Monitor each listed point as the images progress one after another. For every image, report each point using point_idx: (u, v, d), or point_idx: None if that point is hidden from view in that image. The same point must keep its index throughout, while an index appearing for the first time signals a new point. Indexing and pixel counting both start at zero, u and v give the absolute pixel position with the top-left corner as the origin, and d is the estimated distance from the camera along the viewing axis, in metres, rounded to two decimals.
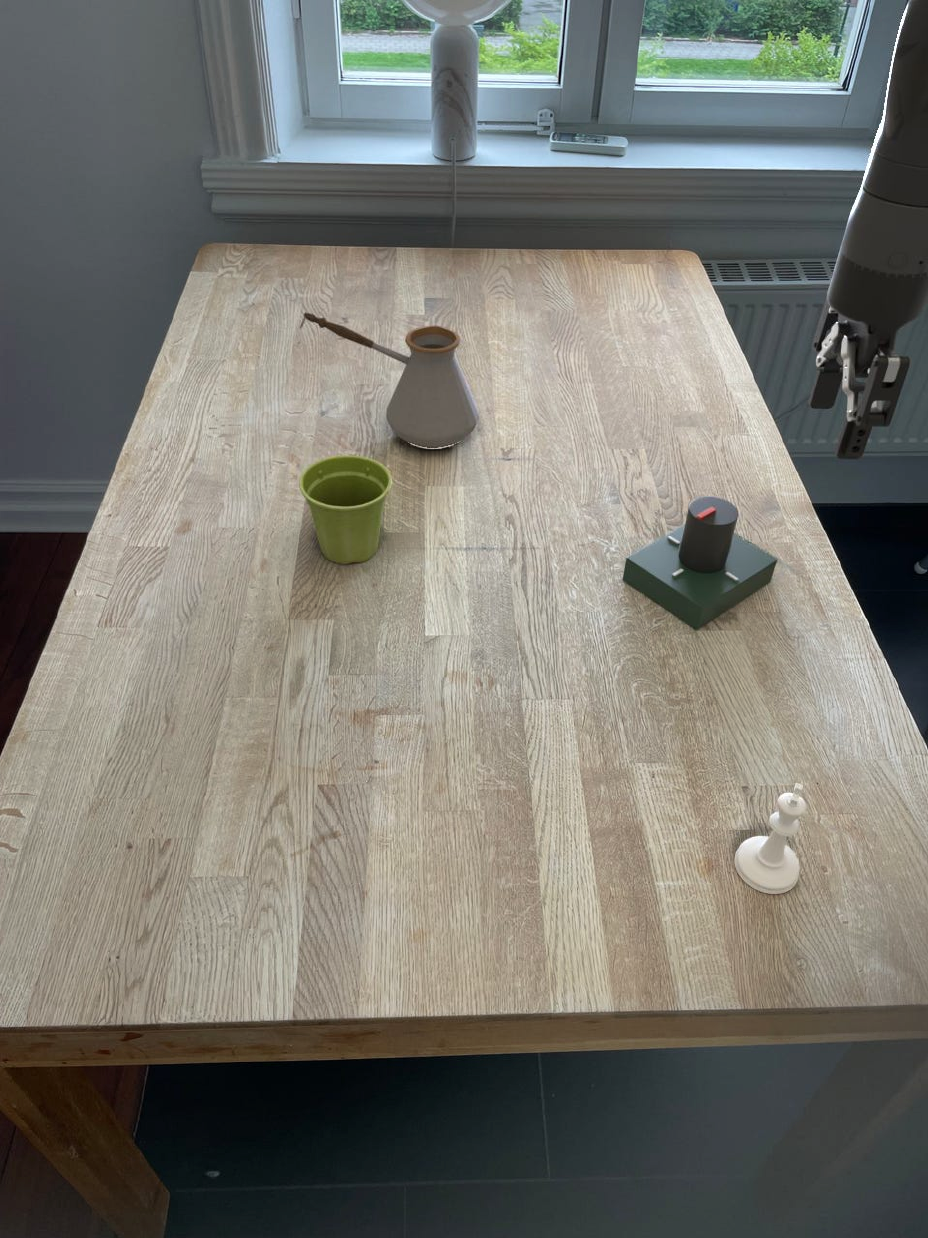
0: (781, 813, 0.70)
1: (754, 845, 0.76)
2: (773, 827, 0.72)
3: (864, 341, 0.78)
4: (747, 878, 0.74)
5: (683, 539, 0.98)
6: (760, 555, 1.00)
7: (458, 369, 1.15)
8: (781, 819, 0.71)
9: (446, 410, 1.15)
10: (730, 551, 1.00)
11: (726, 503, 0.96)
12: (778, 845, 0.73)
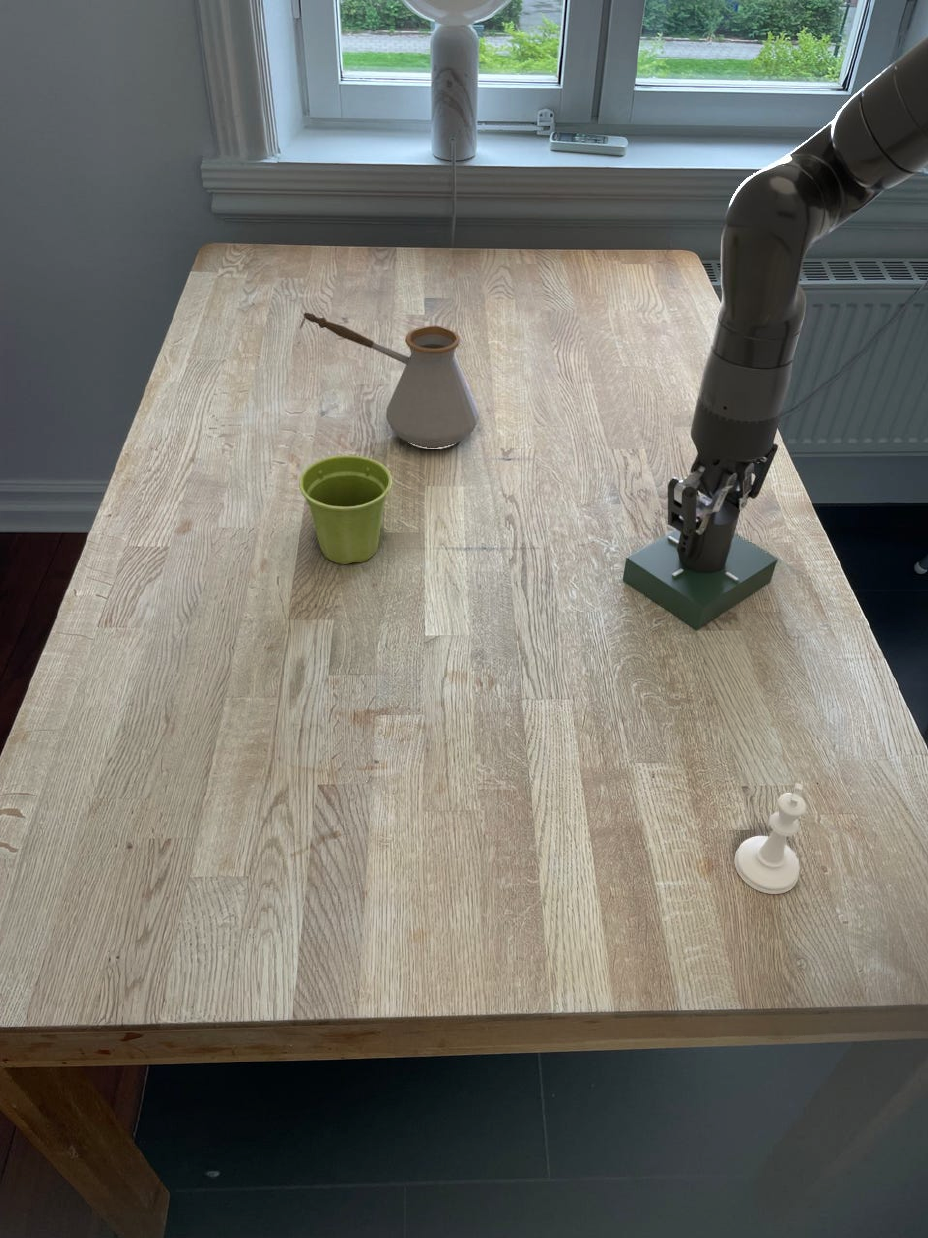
0: (781, 813, 0.70)
1: (754, 845, 0.76)
2: (773, 827, 0.72)
3: None
4: (747, 878, 0.74)
5: None
6: (760, 555, 1.00)
7: (458, 369, 1.15)
8: (781, 819, 0.71)
9: (446, 410, 1.15)
10: (730, 551, 1.00)
11: (726, 503, 0.96)
12: (778, 845, 0.73)
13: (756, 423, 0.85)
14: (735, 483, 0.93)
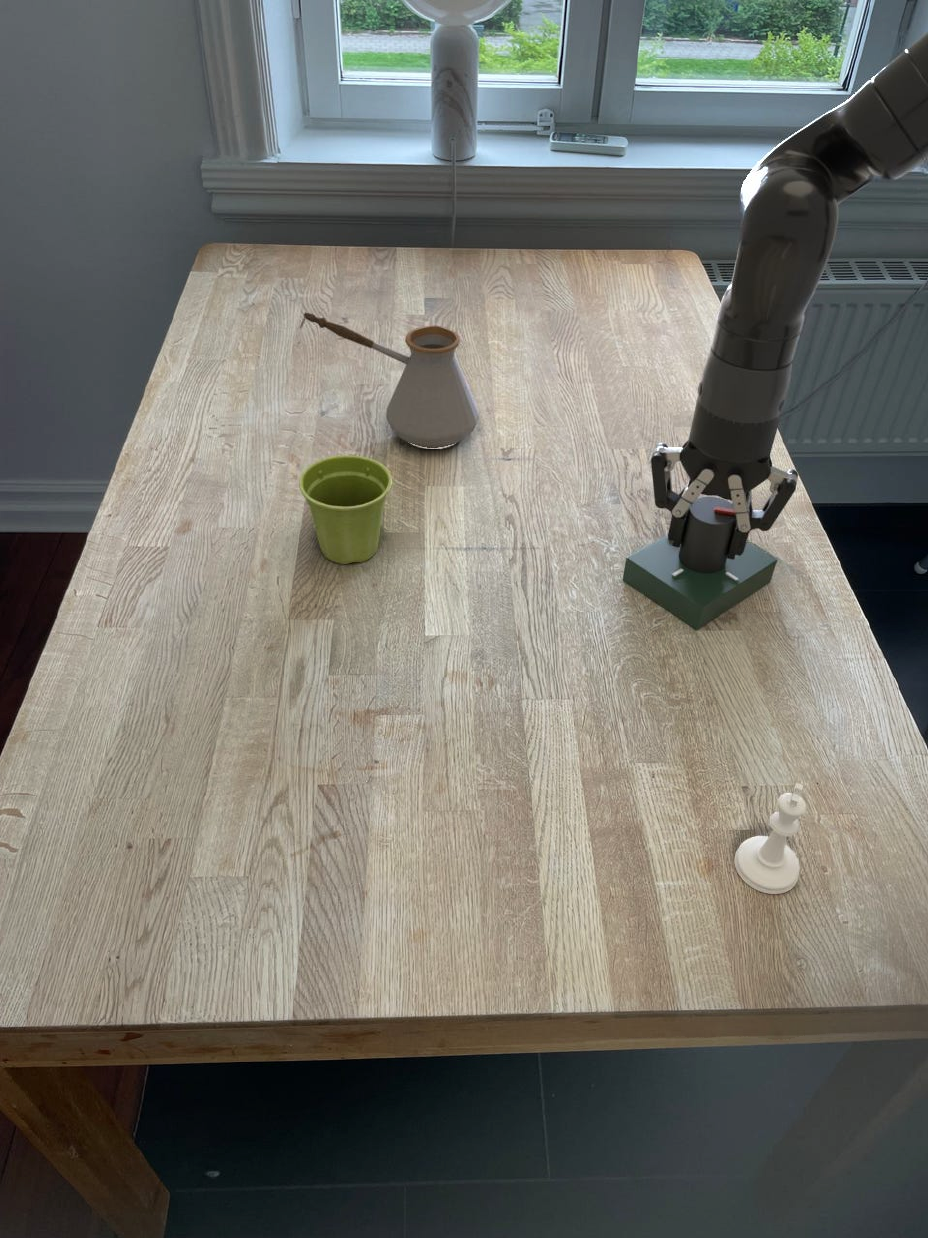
0: (781, 813, 0.70)
1: (754, 845, 0.76)
2: (773, 827, 0.72)
3: (756, 469, 0.89)
4: (747, 878, 0.74)
5: (725, 550, 0.96)
6: (760, 555, 1.00)
7: (458, 369, 1.15)
8: (781, 819, 0.71)
9: (446, 410, 1.15)
10: None
11: (693, 506, 0.96)
12: (778, 845, 0.73)
13: None
14: None
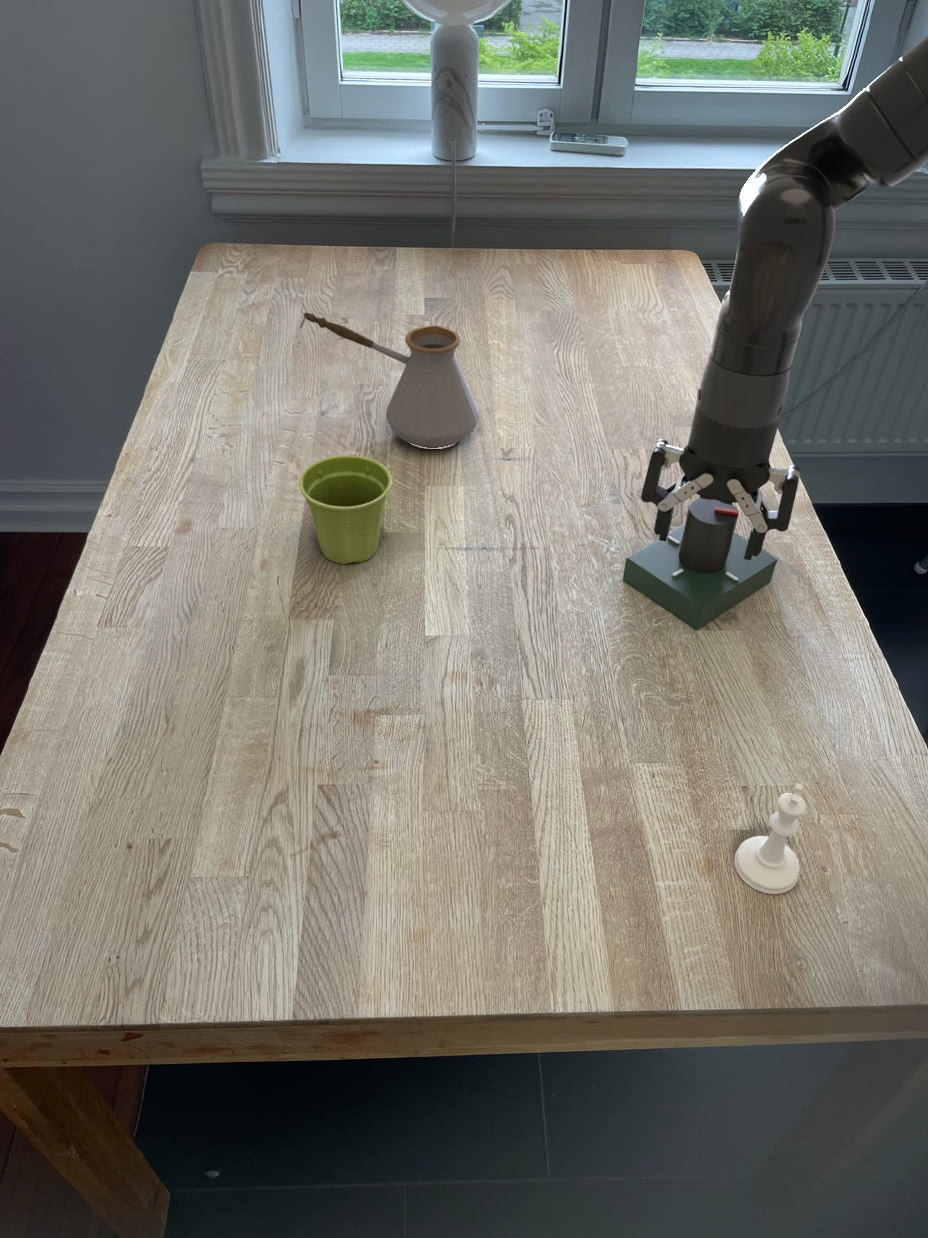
0: (781, 813, 0.70)
1: (754, 845, 0.76)
2: (773, 827, 0.72)
3: (755, 474, 0.90)
4: (747, 878, 0.74)
5: (725, 550, 0.96)
6: (760, 555, 1.00)
7: (458, 369, 1.15)
8: (781, 819, 0.71)
9: (446, 410, 1.15)
10: (730, 551, 1.00)
11: (693, 507, 0.96)
12: (778, 845, 0.73)
13: None
14: None
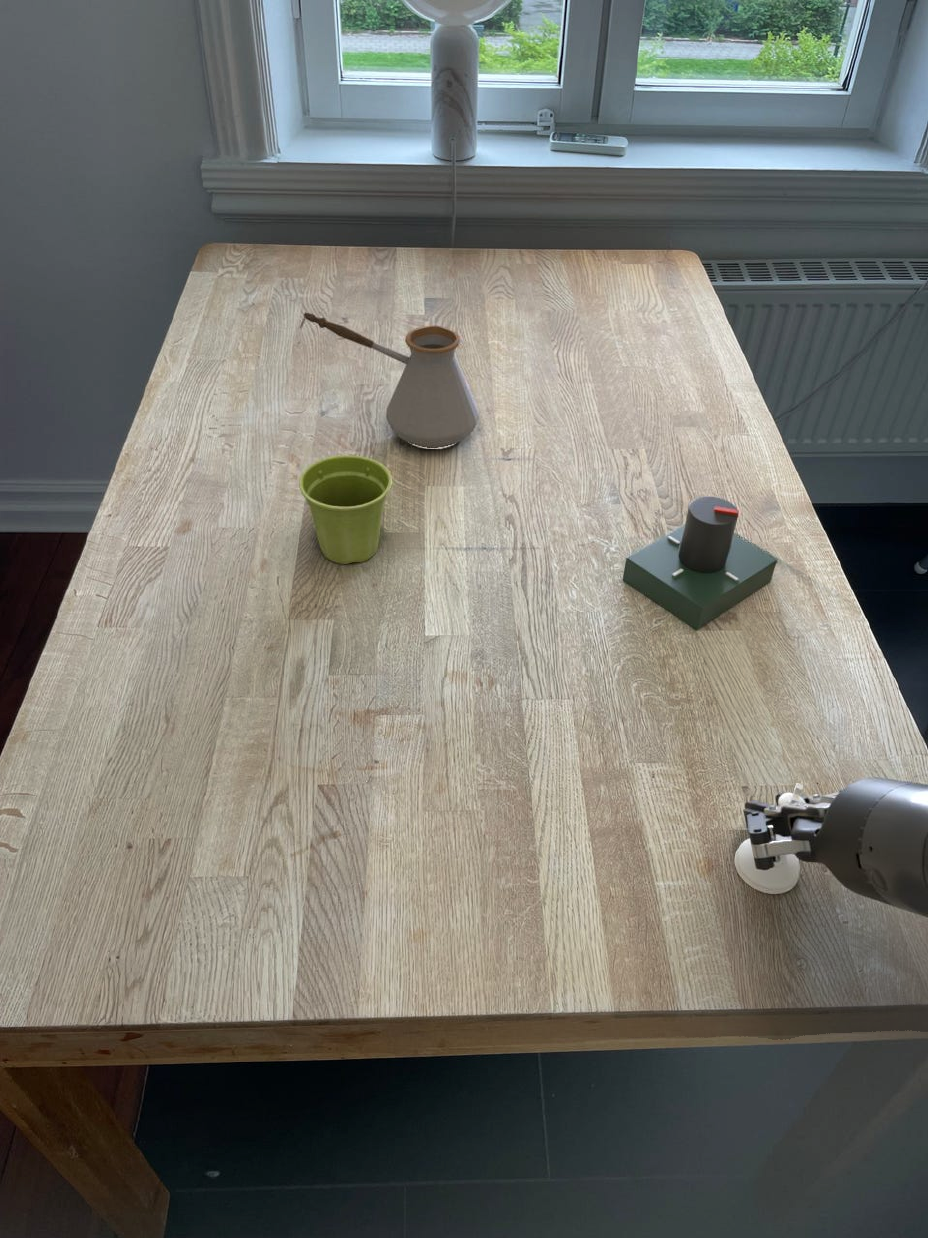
0: None
1: None
2: None
3: None
4: (747, 878, 0.74)
5: (725, 550, 0.96)
6: (760, 555, 1.00)
7: (458, 369, 1.15)
8: None
9: (446, 410, 1.15)
10: (730, 551, 1.00)
11: (693, 507, 0.96)
12: None
13: None
14: None
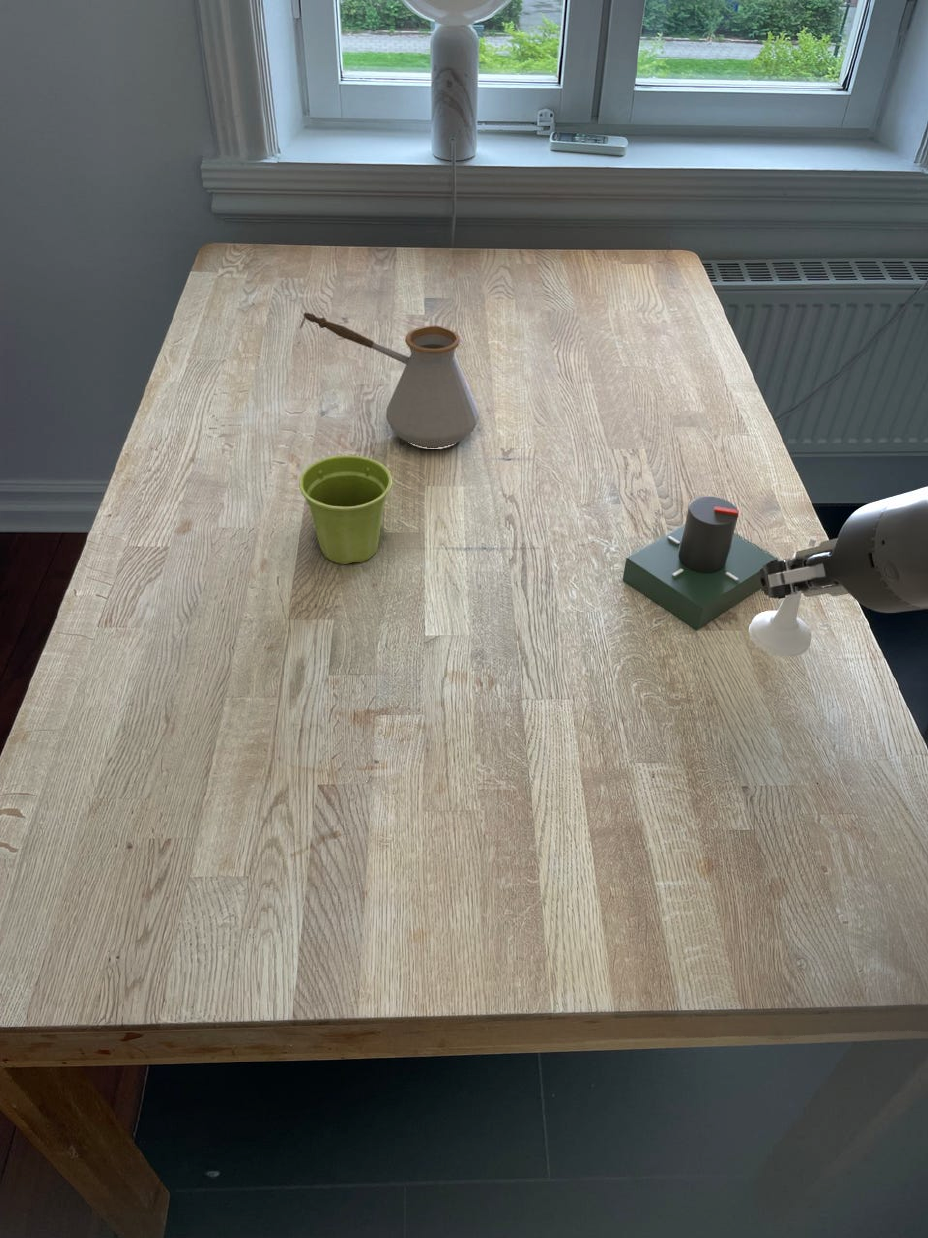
0: None
1: (768, 616, 0.79)
2: None
3: None
4: (761, 643, 0.77)
5: (725, 550, 0.96)
6: (760, 555, 1.00)
7: (458, 369, 1.15)
8: None
9: (446, 410, 1.15)
10: (730, 551, 1.00)
11: (693, 507, 0.96)
12: (792, 606, 0.76)
13: None
14: None
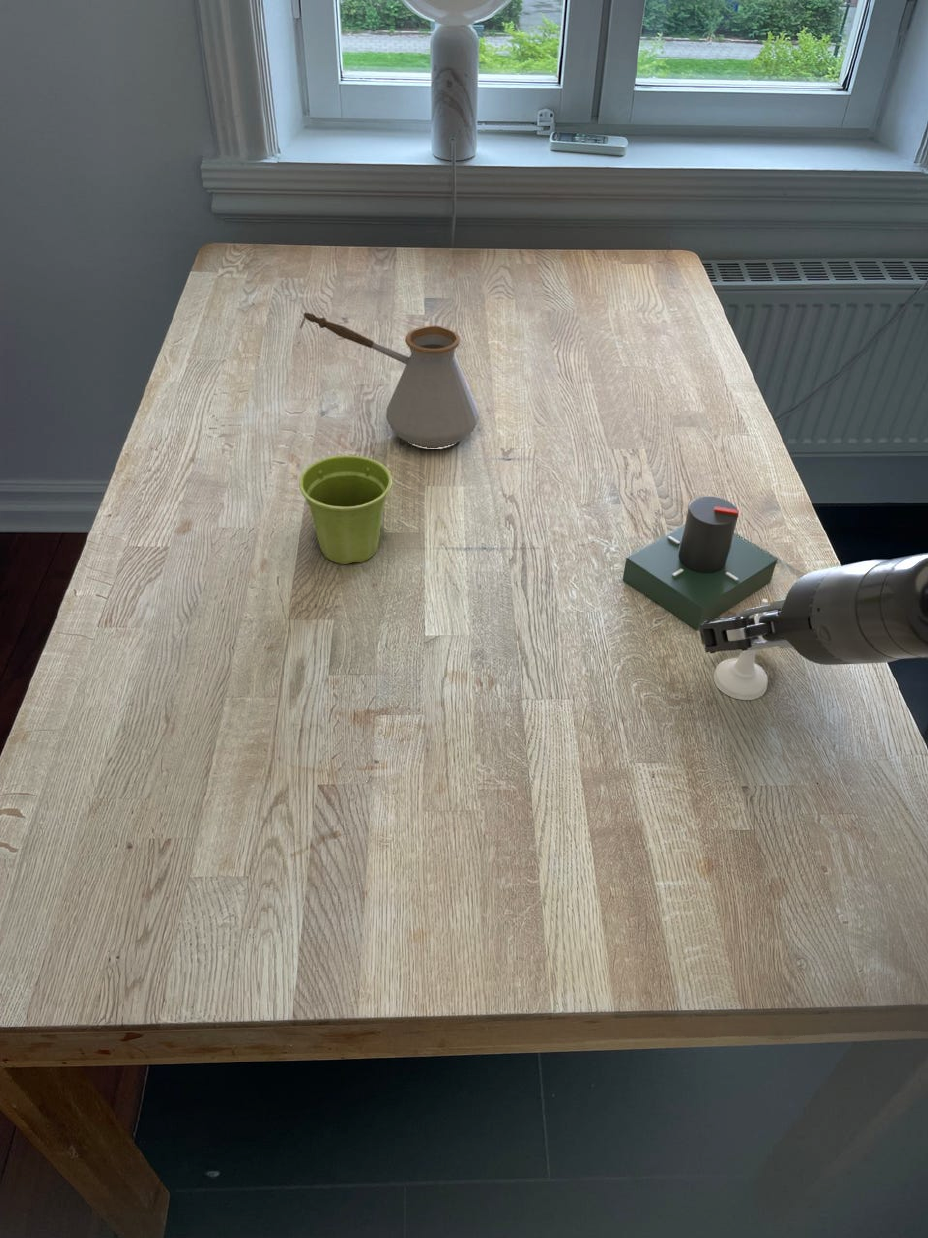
0: None
1: (730, 663, 0.91)
2: None
3: None
4: (724, 688, 0.89)
5: (725, 550, 0.96)
6: (760, 555, 1.00)
7: (458, 369, 1.15)
8: None
9: (446, 410, 1.15)
10: (730, 551, 1.00)
11: (693, 507, 0.96)
12: (749, 657, 0.88)
13: None
14: (773, 611, 0.81)
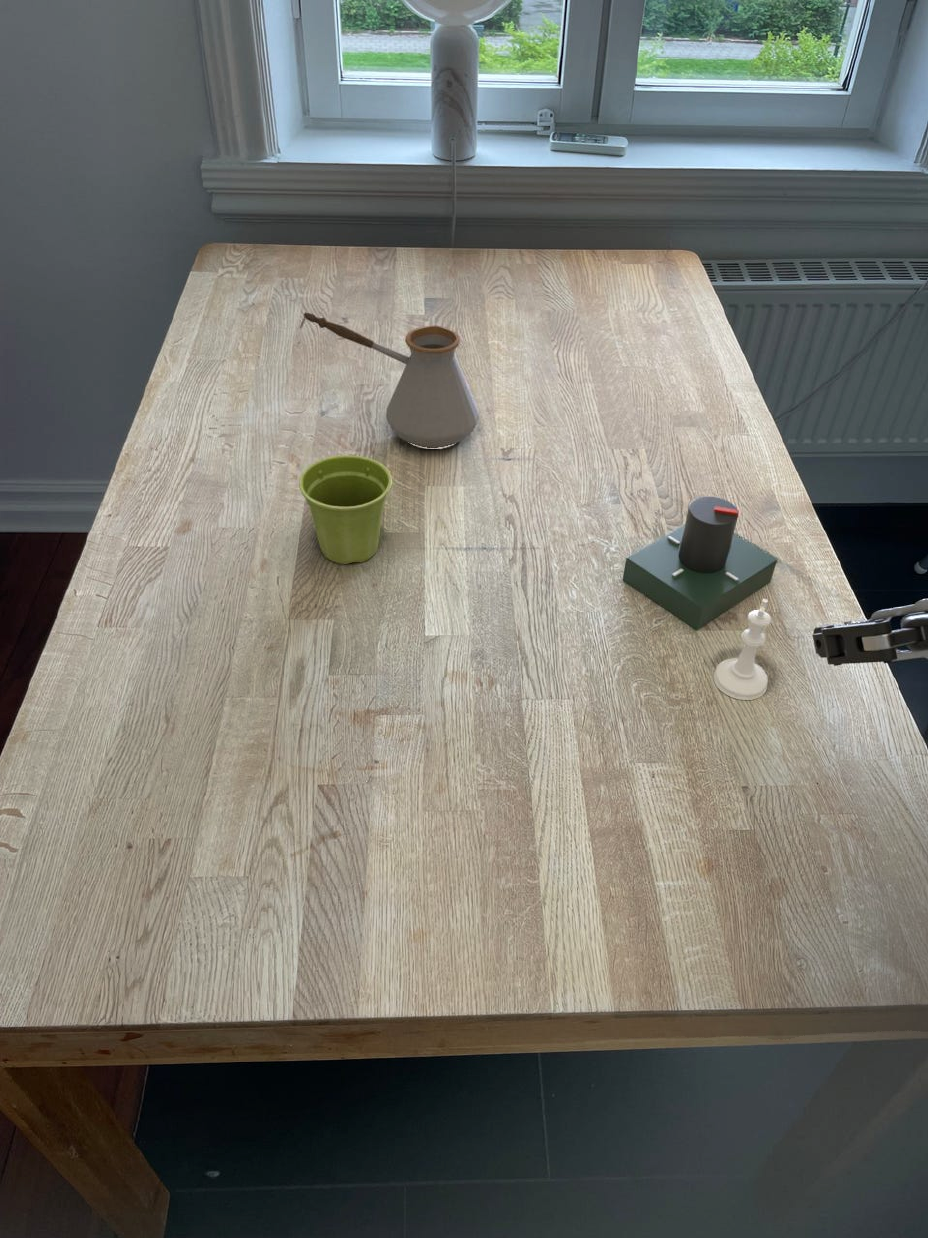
0: (751, 625, 0.85)
1: (730, 663, 0.91)
2: (744, 639, 0.87)
3: None
4: (724, 688, 0.89)
5: (725, 550, 0.96)
6: (760, 555, 1.00)
7: (458, 369, 1.15)
8: (751, 632, 0.86)
9: (446, 410, 1.15)
10: (730, 551, 1.00)
11: (693, 507, 0.96)
12: (749, 657, 0.88)
13: None
14: (915, 613, 0.64)
